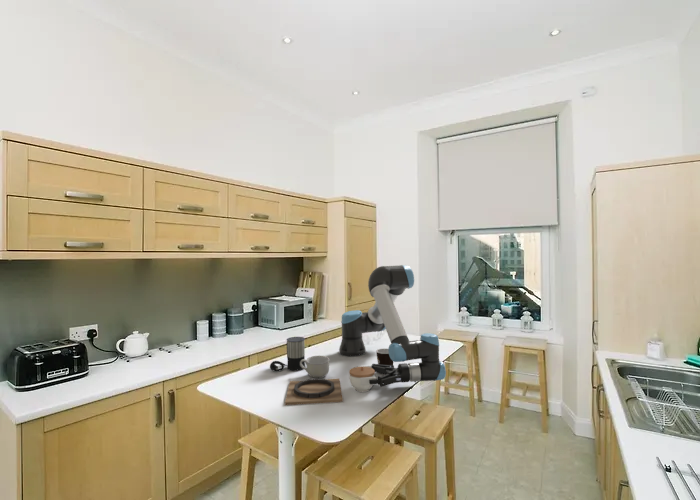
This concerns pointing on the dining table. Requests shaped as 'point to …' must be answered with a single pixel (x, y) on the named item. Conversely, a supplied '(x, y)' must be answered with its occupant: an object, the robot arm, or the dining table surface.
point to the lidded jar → (361, 373)
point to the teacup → (316, 366)
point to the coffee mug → (383, 357)
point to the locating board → (314, 391)
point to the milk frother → (292, 355)
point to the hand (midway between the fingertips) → (358, 375)
